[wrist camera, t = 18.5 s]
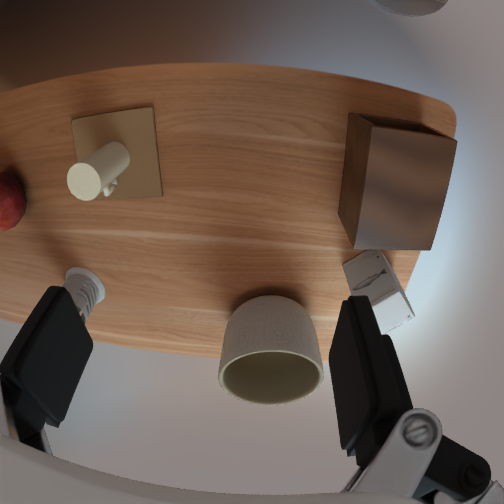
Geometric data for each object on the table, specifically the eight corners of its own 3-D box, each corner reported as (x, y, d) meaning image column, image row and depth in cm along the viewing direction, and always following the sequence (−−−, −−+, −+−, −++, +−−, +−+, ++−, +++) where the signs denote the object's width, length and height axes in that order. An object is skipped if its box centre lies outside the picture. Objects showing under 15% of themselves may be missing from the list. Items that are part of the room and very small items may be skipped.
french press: (100, 269, 55) (42, 373, 34) (110, 312, 62) (68, 411, 41) (60, 263, 55) (-2, 356, 34) (73, 305, 61) (26, 395, 40)
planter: (325, 289, 56) (339, 355, 43) (299, 347, 65) (305, 408, 53) (232, 275, 55) (224, 342, 42) (221, 337, 64) (213, 399, 51)
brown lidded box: (348, 112, 39) (371, 126, 30) (422, 123, 38) (457, 140, 30) (337, 214, 48) (353, 249, 39) (405, 217, 47) (430, 250, 39)
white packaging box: (376, 241, 50) (401, 290, 39) (392, 268, 53) (416, 317, 43) (340, 263, 53) (356, 315, 42) (359, 289, 56) (376, 340, 45)
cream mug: (97, 143, 41) (63, 165, 33) (127, 139, 41) (96, 160, 33) (105, 185, 45) (74, 214, 37) (133, 183, 45) (107, 213, 37)
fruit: (38, 217, 49) (9, 246, 41) (5, 213, 48) (-24, 239, 40) (30, 165, 43) (-4, 188, 35) (-4, 165, 43) (-37, 186, 34)
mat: (72, 119, 39) (70, 120, 39) (153, 106, 39) (152, 106, 38) (87, 199, 47) (85, 200, 46) (163, 195, 47) (162, 197, 46)
